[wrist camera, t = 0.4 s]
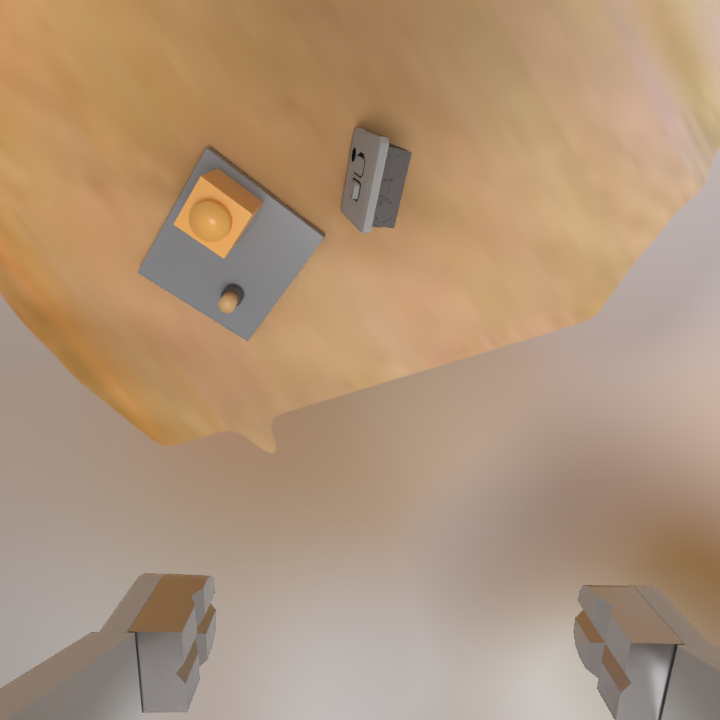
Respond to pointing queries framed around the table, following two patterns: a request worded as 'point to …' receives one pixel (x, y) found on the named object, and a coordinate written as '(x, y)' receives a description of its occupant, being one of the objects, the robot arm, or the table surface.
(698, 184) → the table surface
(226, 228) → the orange knobbed cube
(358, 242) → the table surface
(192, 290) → the board
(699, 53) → the table surface
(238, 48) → the table surface
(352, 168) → the electrical switch
